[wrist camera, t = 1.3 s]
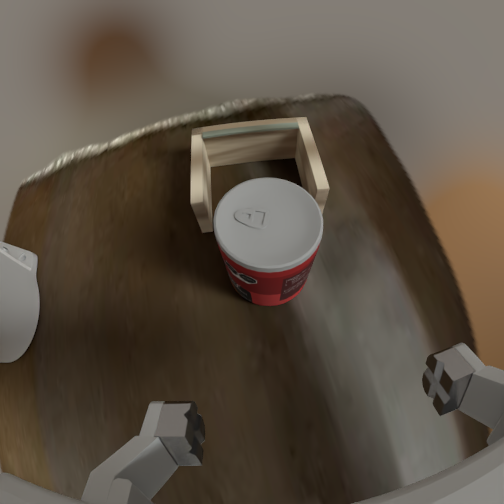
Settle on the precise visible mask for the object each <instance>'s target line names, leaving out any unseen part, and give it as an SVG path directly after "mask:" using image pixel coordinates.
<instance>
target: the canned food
mask: <svg viewBox="0 0 504 504" xmlns="http://www.w3.org/2000/svg"><path fill="white" fill-rule="evenodd" d="M214 233H215V236H216V240H217V243H218V247H219V250H220V253H221V255H222V258H223V261H224V264H225V266H226V269H227V272H228V274H229V277H230V280H231V283H232V284H233V286H234V288H235V290H236V291H237V292H238V293H239V294H240V295H241V296H242V297H243V298H245V299H246V300H248V301H250V302H252V303H255V304H258V305H263V306H274V305H279V304H283V303H286V302H288V301H289V300H291V299H293V298H294V297H295V296H296V295H298V293H299V292H300V291H301V290H302V288H303V286H304V284H305V282H306V280H307V277H308V274H309V272H310V269H311V267H312V264H313V261H314V259H315V256H316V253H317V251H318V248H319V244H320V241H321V237H322V233H323V217H322V213H321V210H320V208H319V206H318V204H317V202H316V201H315V200H314V198H313V197H312V196H311V195H310V194H309V193H308V192H307V191H306V190H305V189H303V188H301V187H300V186H298V185H297V184H294V183H292V182H289V181H287V180H283V179H278V178H268V177H267V178H256V179H252V180H248V181H245V182H243V183H241V184H238V185H237V186H235V187H234V188H232V189H231V190H230V191H228V192H227V193H226V194H225V195H224V196H223V198H222V199H221V200H220V202H219V204H218V206H217V208H216V210H215V215H214Z"/></svg>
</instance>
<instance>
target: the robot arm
mask: <svg viewBox="0 0 504 504" xmlns="http://www.w3.org/2000/svg"><path fill="white" fill-rule="evenodd" d="M36 271H37V255H36V254H34V253H32V252H30V251H27V250H24V249H21V248H18V247H15V246H13V245H10V244H7V243H4V242H1V241H0V363H1V362H3V363H9V362H13V361H15V360H17V359H18V358H19V357H21V356H22V355H23V354H24V352H25V351H26V350H27V348H28V347H29V345H30V343H31V341H32V339H33V336H34V333H35V330H36V327H37V323H38V317H39V307H40V299H39V289H38V285H37V280H36ZM426 365H427V366H428V368H427V369H426V370H425V372H424V373H423V378H422V382H423V388H424V391H425V393H426V394H427V396H429V397H431V398H433V406H434V407H435V409H436V410H437V412H438V414H439V415H440V416H442V415H444V414H447V413H449V412H451V411H454V410H456V409H458V408H459V409H458V410H460V411H462V412H464V413H465V414H467V415H469V416H471V417H472V418H474V419H476V420H478V421H479V422H481V423H483V424H485V425H487V426H488V427H490V428H492V429H493V431H492V433H491V434H490V436H489V437H488V439H487V443H488V445H489V446H488V447H486V448H485V449H483V450H481V451H480V452H478V453H476V454H474V455H473V456H471V457H469V458H467V459H465V460H463V461H461V462H459V463H458V464H456V465H454V466H452V467H450V468H448V469H445V470H443V471H441V472H439V473H437V474H435V475H432V476H430V477H428V478H426V479H423V480H421V481H418V482H416V483H413V484H411V485H408V486H406V487H403V488H400V489H397V490H395V491H392V492H389V493H386V494H383V495H380V496H376V497H373V498H370V499H366V500H363V501H359V502H355V503H352V504H504V370H500V369H498V368H495V367H492V366H487V367H486V366H485V365H484V364H483V363H482V362H481V361H480V360H479V358H478V357H477V356H476V355H475V354H474V353H473V352H472V351H471V350H470V349H469V348H468V347H467V345H466V344H464V343H460V344H457V345H455V346H452V347H449V348H447V349H444V350H442V351H439V352H436V353H434V354H431V355H429V356H428V358H427V361H426ZM197 409H198V407H197V405H196V403H195V401H152V402H151V403H150V404H149V407H148V410H147V413H146V416H145V419H144V422H143V425H142V429H141V432H140V435H139V436H135V437H134V438H132V439H131V440H130V441H129V442H128V443H126V444H125V445H124V446H123V447H121V448H120V449H119V450H118V451H117V452H115V453H114V454H113V455H112V456H110V457H109V458H108V459H107V460H105V461H104V462H103V463H102V464H100V465H99V466H98V467H97V468H95V469H94V470H93V471H92V472H91V473H90V476H89V479H88V481H87V484H86V487H85V490H84V493H83V496H82V498H81V500H78V499H75V498H71V497H68V496H65V495H62V494H59V493H56V492H53V491H51V490H48V489H45V488H42V487H40V486H37V485H35V484H32V483H30V482H28V481H25V480H23V479H21V478H19V477H17V476H14V475H12V474H9V473H1V474H0V504H154V503H153V502H152V501H151V499H152V497H153V496H154V495H155V494H156V493H157V492H158V491H159V489H160V488H161V487H162V486H163V485H164V484H165V482H166V481H167V480H168V479H169V478H170V476H171V475H172V474H173V473H174V472H175V470H176V469H177V468H178V466H196V465H202V459H203V448H202V447H201V445H200V444H201V443H202V442H203V441H204V440H205V425H204V422H203V419H202V416H201V415H199V414H198V413H197Z"/></svg>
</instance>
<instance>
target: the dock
mask: <svg viewBox="0 0 504 504" xmlns="http://www.w3.org/2000/svg"><path fill="white" fill-rule="evenodd" d="M288 158H295V160H296V163H297V167H298V171H299V175H300V179H301V183H302V187H303V189H305V190H306V191H307V192H308V193H309V194H310V195H311V196H312V197H313V198H314V200H315V201H316V202H317V204H318V206H319V208H320V210H321V213H323V209H324V206H325V202H326V199H327V195H328V192H329V185H328V182H327V179H326V175H325V172H324V169H323V166H322V163H321V159H320V156H319V153H318V150H317V147H316V144H315V141H314V138H313V135H312V133H311V130H310V127H309V124H308V121H307V118H306V117H300V118H283V119H270V120H258V121H248V122H239V123H231V124H223V125H215V126H208V127H202V128H195V129H192V145H191V206H192V208H193V211H194V213H195V216H196V218H197V221H198V223H199V226H200V228H201V231H202V233H205V232H213V223H212V201H211V176H210V167H215V166H222V165H230V164H238V163H247V162H256V161H266V160H276V159H288Z"/></svg>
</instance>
